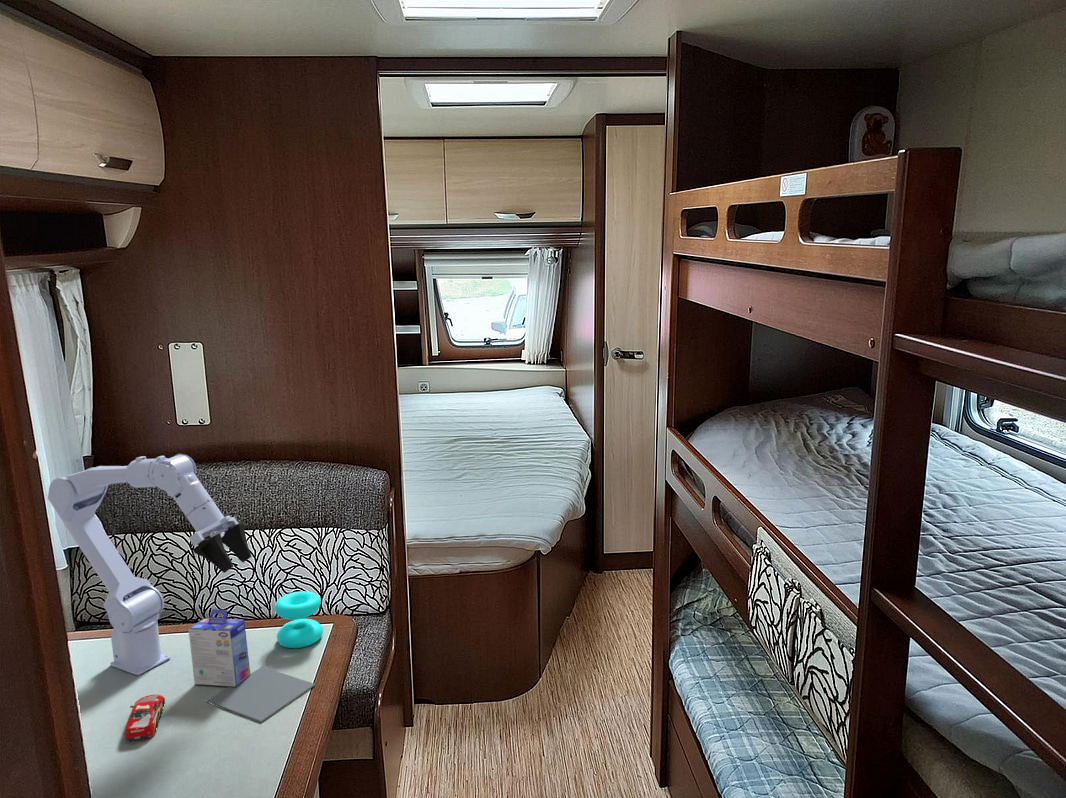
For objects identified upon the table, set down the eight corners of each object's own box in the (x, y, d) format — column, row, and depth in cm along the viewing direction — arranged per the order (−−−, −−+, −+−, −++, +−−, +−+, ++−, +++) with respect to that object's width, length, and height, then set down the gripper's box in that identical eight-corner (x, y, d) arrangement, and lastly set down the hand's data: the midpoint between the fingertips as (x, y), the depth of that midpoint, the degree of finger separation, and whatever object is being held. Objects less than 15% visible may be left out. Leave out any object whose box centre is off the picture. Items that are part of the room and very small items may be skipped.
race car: (138, 706, 146) (135, 687, 146) (168, 701, 148) (166, 683, 147) (120, 747, 134) (118, 726, 133) (153, 741, 135) (151, 721, 135)
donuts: (311, 608, 164) (266, 608, 165) (314, 651, 166) (270, 650, 167) (326, 589, 174) (284, 588, 175) (329, 629, 176) (287, 628, 176)
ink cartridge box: (252, 673, 156) (244, 608, 154) (237, 687, 151) (228, 620, 149) (210, 671, 158) (201, 606, 156) (193, 685, 153) (184, 618, 151)
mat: (206, 702, 147) (206, 700, 147) (262, 668, 159) (262, 666, 159) (261, 722, 140) (261, 720, 140) (315, 685, 152) (315, 683, 152)
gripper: (195, 504, 143) (235, 563, 143) (233, 491, 157) (269, 544, 157) (167, 525, 144) (207, 583, 143) (207, 510, 158) (244, 563, 158)
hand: (238, 564), depth 150 cm, fingers open, 7 cm apart
